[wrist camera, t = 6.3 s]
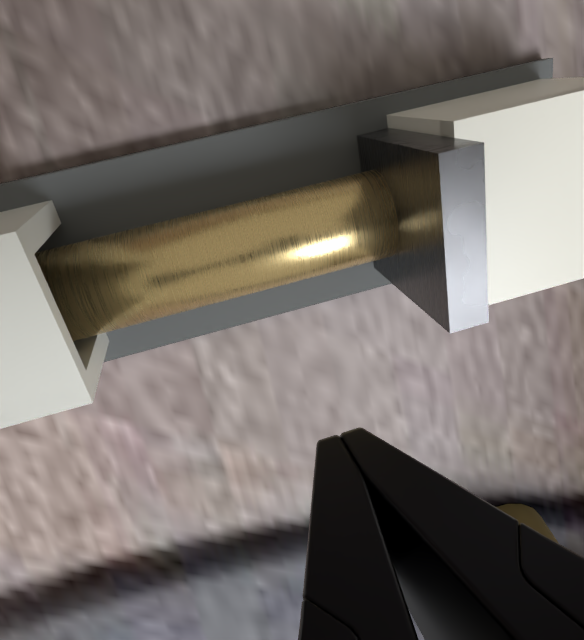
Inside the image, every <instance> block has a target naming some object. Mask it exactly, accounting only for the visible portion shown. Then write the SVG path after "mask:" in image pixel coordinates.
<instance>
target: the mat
mask: <svg viewBox="0 0 584 640" xmlns="http://www.w3.org/2000/svg"><path fill="white" fill-rule="evenodd" d="M552 74H553V58H548V59H540V60H536V61H532V62H527V63H523V64H519V65H514V66H510V67H506V68H501V69H497V70H493V71H488V72H484V73H480V74H475V75H471V76H467V77H462V78H458V79H453V80H449V81H445V82H440V83H436V84H432V85H427V86H423V87H419V88H414V89H410V90H406V91H401V92H397V93H393V94H388V95H384V96H380V97H375V98H371V99H366V100H362V101H358V102H353V103H349V104H345V105H340V106H336V107H332V108H327V109H323V110H319V111H314V112H310V113H306V114H301V115H297V116H293V117H288V118H284V119H279V120H275V121H271V122H266V123H262V124H258V125H253V126H249V127H245V128H240V129H236V130H232V131H227V132H223V133H219V134H214V135H210V136H205V137H201V138H197V139H192V140H188V141H184V142H179V143H175V144H171V145H166V146H162V147H158V148H153V149H149V150H145V151H140V152H136V153H132V154H127V155H123V156H118V157H114V158H110V159H105V160H101V161H97V162H92V163H88V164H84V165H79V166H75V167H71V168H66V169H62V170H58V171H53V172H49V173H45V174H40V175H36V176H31V177H27V178H23V179H18V180H14V181H10V182H5V183H1V184H0V212H3V211H7V210H12V209H16V208H20V207H24V206H29V205H33V204H37V203H41V202H46V201H50V200H52V202H53V204H54V207H55V209H56V211H57V214H58V216H59V219H60V221H61V224H60V225H59V227H58V228H57V229H56V230H55V231H54V232H53V233H52V235H51V236H50V237H49V238H48V239H47V240H46V241H45V243H44V244H43V245H42V246H41V247H40V248H39V249H38V251H37V252H41V251H45V250H49V249H53V248H57V247H61V246H65V245H69V244H73V243H77V242H81V241H85V240H89V239H93V238H98V237H102V236H106V235H110V234H114V233H118V232H122V231H126V230H130V229H134V228H138V227H142V226H146V225H150V224H154V223H158V222H163V221H167V220H171V219H175V218H179V217H183V216H187V215H191V214H195V213H199V212H203V211H207V210H211V209H215V208H219V207H224V206H228V205H232V204H236V203H240V202H244V201H248V200H252V199H256V198H260V197H264V196H268V195H272V194H276V193H280V192H284V191H289V190H293V189H297V188H301V187H305V186H309V185H313V184H317V183H321V182H325V181H329V180H333V179H337V178H341V177H345V176H349V175H354V174H358V173H361V165H360V158H359V150H358V142H357V135H361V134H365V133H369V132H373V131H378V130H382V129H386V128H388V125H387V116H386V115H389V114H393V113H397V112H401V111H406V110H410V109H414V108H419V107H423V106H427V105H431V104H436V103H440V102H444V101H448V100H453V99H457V98H461V97H465V96H470V95H474V94H478V93H483V92H487V91H491V90H495V89H500V88H504V87H508V86H512V85H517V84H521V83H525V82H529V81H534V80H538V79H552ZM37 252H36V253H37ZM388 284H392V283H391V282H390V281H389V280H388V279H386V278H385V277H384V276H383V275H382V274H381V273H379V272H378V271H377V270H376V269H375V268H374V264H373V261H372V262H368V263H365V264H361V265H357V266H353V267H350V268H346V269H342V270H338V271H335V272H331V273H327V274H323V275H320V276H316V277H312V278H308V279H305V280H301V281H297V282H293V283H290V284H286V285H282V286H278V287H275V288H271V289H267V290H263V291H260V292H256V293H252V294H248V295H245V296H241V297H237V298H233V299H230V300H226V301H222V302H218V303H215V304H211V305H207V306H203V307H200V308H196V309H192V310H188V311H185V312H181V313H177V314H173V315H170V316H166V317H162V318H158V319H155V320H151V321H147V322H143V323H140V324H136V325H132V326H128V327H125V328H121V329H117V330H113V331H110V332H106V334H107V336H108V339H109V343H108V347H107V351H106V355H105V359H104V362H106V361H110V360H113V359H117V358H121V357H124V356H128V355H132V354H135V353H139V352H143V351H146V350H150V349H153V348H157V347H161V346H164V345H168V344H172V343H175V342H179V341H183V340H186V339H190V338H194V337H197V336H201V335H205V334H208V333H212V332H216V331H219V330H223V329H227V328H230V327H234V326H238V325H241V324H245V323H249V322H252V321H256V320H260V319H263V318H267V317H271V316H274V315H278V314H282V313H285V312H289V311H293V310H296V309H300V308H304V307H307V306H311V305H315V304H318V303H322V302H326V301H329V300H333V299H337V298H340V297H344V296H348V295H351V294H355V293H359V292H362V291H366V290H370V289H373V288H377V287H381V286H384V285H388Z"/></svg>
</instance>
